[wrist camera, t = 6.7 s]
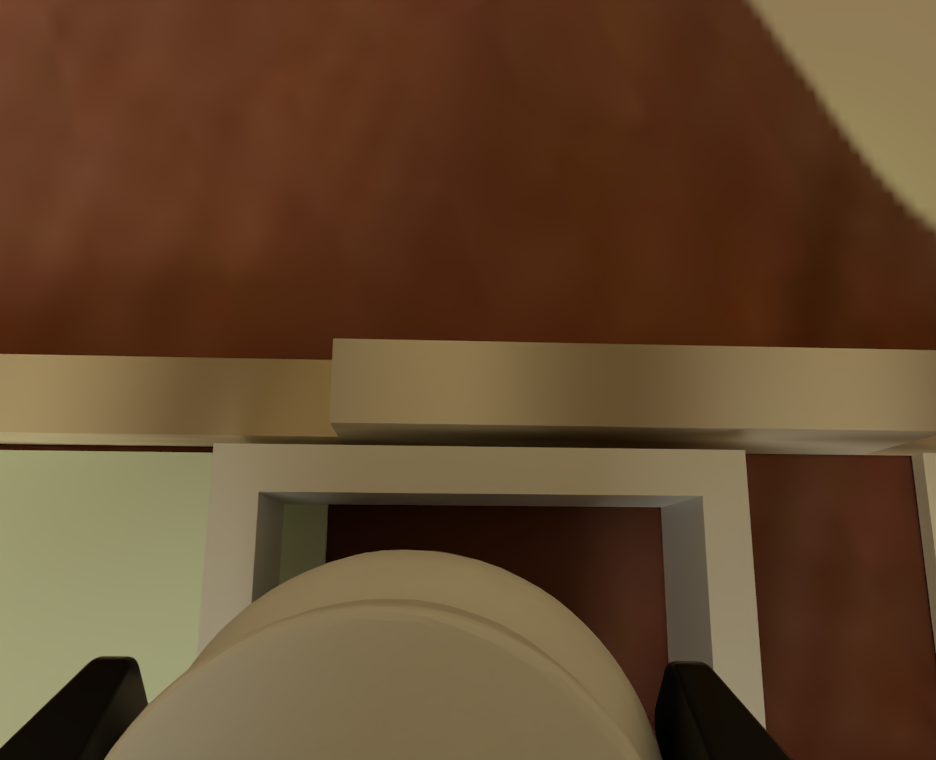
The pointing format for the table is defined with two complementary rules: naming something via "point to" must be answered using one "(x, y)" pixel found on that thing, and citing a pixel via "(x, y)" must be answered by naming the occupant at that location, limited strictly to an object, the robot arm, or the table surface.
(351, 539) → the table surface
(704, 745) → the robot arm
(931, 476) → the tray
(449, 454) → the collar carriage
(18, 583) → the pad
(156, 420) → the oak channel
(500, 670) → the pill bottle
